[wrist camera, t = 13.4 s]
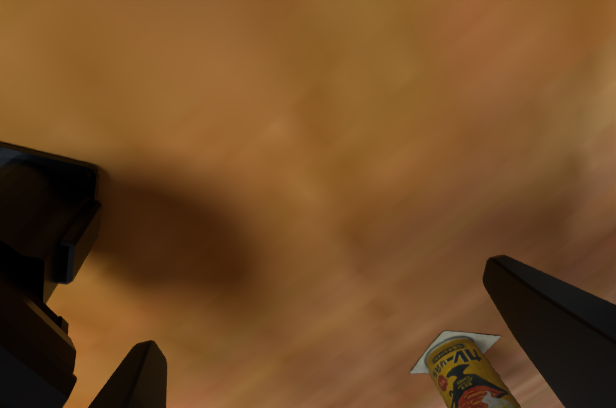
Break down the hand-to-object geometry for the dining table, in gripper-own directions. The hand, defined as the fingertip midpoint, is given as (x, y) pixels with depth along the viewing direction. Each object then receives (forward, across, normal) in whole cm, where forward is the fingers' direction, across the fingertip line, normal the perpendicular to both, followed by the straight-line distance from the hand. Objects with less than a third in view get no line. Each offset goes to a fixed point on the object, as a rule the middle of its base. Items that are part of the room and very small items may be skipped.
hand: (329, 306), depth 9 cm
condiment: (+13, -15, +30) cm, 36 cm away
